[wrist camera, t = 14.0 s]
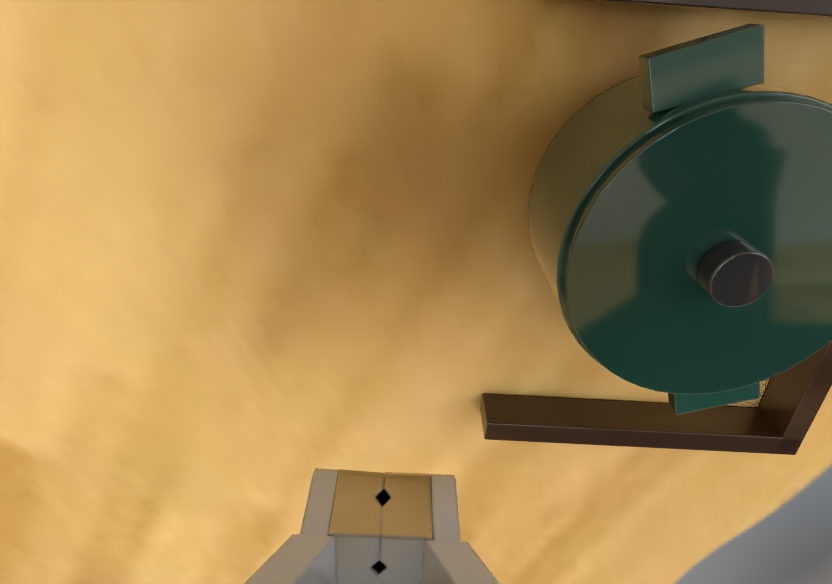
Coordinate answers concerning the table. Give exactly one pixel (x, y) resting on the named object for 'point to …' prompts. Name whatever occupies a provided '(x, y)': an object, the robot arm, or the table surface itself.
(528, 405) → the frame
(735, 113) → the pot
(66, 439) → the table surface
